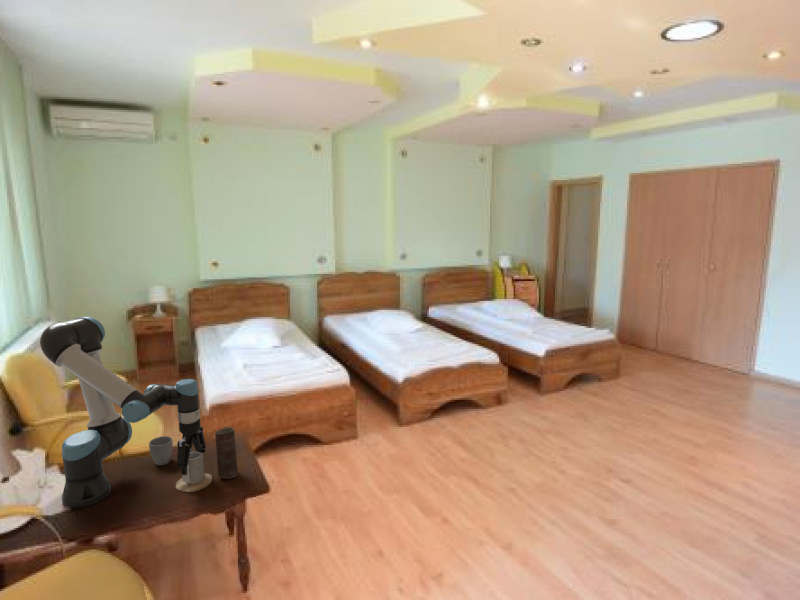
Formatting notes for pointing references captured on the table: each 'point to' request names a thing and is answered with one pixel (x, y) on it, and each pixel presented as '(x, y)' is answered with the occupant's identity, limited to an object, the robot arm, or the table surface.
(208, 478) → the coaster
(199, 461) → the mug
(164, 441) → the mug
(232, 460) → the candle
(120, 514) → the table surface
